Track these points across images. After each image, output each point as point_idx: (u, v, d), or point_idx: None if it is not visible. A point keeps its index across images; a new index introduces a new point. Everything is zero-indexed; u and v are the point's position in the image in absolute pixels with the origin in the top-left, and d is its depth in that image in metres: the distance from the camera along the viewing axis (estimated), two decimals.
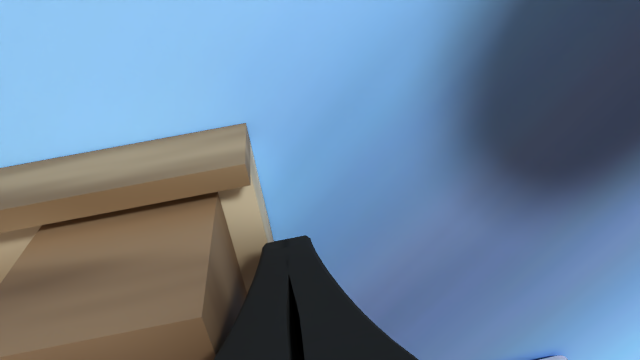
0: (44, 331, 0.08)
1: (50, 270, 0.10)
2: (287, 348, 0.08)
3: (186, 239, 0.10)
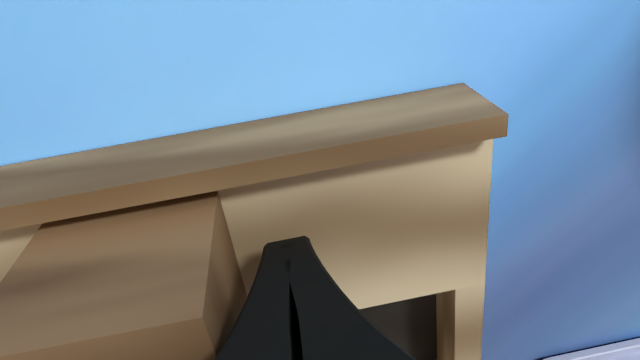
0: (44, 331, 0.08)
1: (50, 270, 0.10)
2: (289, 348, 0.08)
3: (187, 239, 0.10)
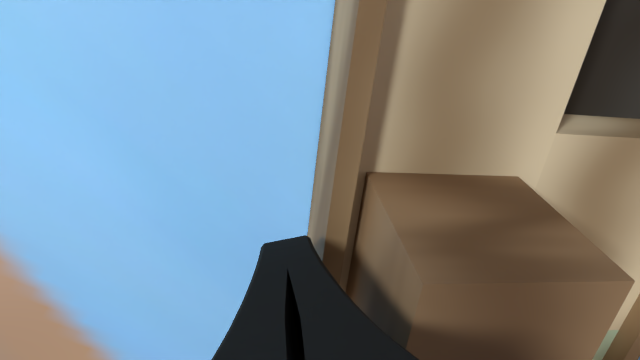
0: None
1: None
2: (285, 349, 0.08)
3: (382, 231, 0.11)
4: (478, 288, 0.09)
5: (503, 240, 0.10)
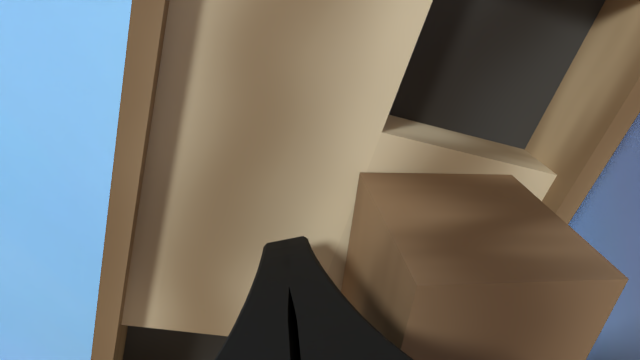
0: None
1: None
2: (288, 348, 0.08)
3: (376, 232, 0.11)
4: (472, 288, 0.09)
5: (497, 240, 0.10)
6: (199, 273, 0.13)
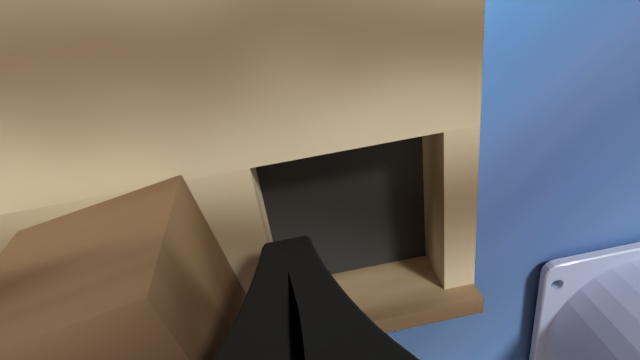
0: None
1: (15, 275, 0.10)
2: (286, 348, 0.08)
3: (144, 225, 0.10)
4: (170, 343, 0.08)
5: (210, 329, 0.10)
6: None
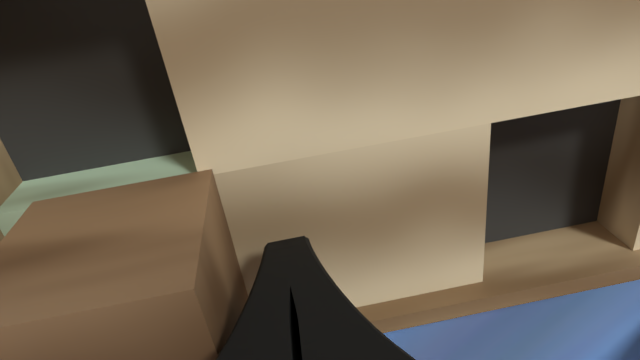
0: (31, 305, 0.08)
1: (38, 246, 0.10)
2: (290, 347, 0.08)
3: (180, 215, 0.10)
4: (203, 336, 0.08)
5: (228, 326, 0.10)
6: (260, 11, 0.10)
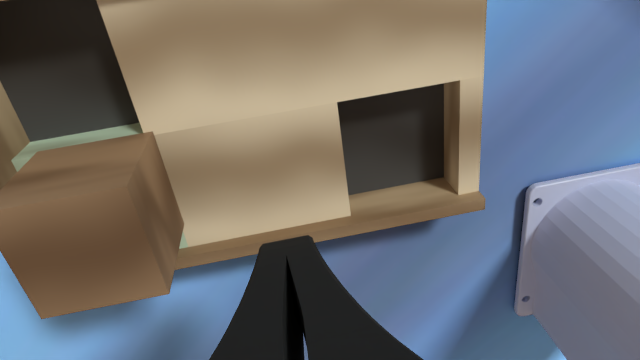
0: (37, 196, 0.14)
1: (41, 172, 0.16)
2: (282, 349, 0.08)
3: (126, 155, 0.16)
4: (134, 216, 0.15)
5: (157, 223, 0.16)
6: (176, 31, 0.16)
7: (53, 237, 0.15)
